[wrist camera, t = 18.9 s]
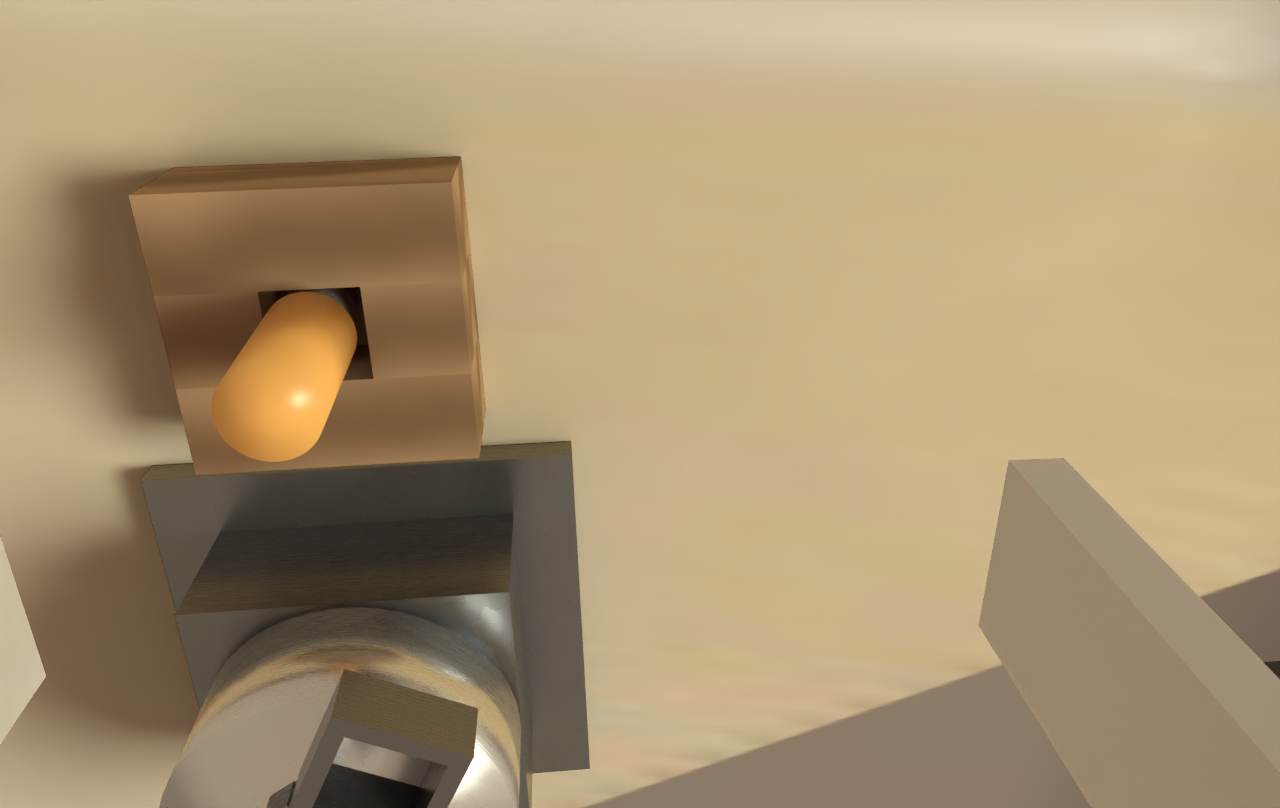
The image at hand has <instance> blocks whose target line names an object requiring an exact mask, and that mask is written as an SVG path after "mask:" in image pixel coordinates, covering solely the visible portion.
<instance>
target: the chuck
mask: <svg viewBox="0 0 1280 808" xmlns="http://www.w3.org/2000/svg"><path fill="white" fill-rule="evenodd" d="M520 753H521V723H520V714H519V710H518V706H517V702H516V699H515V697H514V695H513V692H512V690H511V688H510V686H509V684H508V682H507V681H506V679H505V678H504V676H503V675H502V673H501V671H500V670H499V669H498V668H497V667H496V666H495V664H494V663H493V662H492V661H491V660H490V659H489V657H487V656H486V655H485V654H484V653H483V652H482V651H481V650H479V649H478V648H477V647H476V646H475V645H474V644H472V643H471V642H469V641H468V640H466V639H465V638H463V637H462V636H460V635H459V634H457V633H455V632H453V631H451V630H449V629H447V628H446V627H444V626H442V625H440V624H437V623H434V622H432V621H429V620H426V619H424V618H421V617H418V616H414V615H410V614H406V613H403V612H399V611H392V610H385V609H378V608H359V607H352V608H336V609H328V610H322V611H316V612H311V613H307V614H304V615H300V616H297V617H293V618H290V619H288V620H285V621H283V622H281V623H278V624H276V625H274V626H271V627H270V628H268V629H266V630H264V631H263V632H261V633H259V634H257V635H256V636H254V637H253V638H251V639H250V640H249V641H248V642H246V643H245V644H244V645H242V646H241V647H240V648H239V649H238V650H237V651H236V652H235V653H234V654H233V655H232V656H231V657H230V658H229V659H228V660H227V661H226V662H225V664H224V665H223V667H222V668H221V669H220V671H219V672H218V674H217V675H216V677H215V679H214V681H213V683H212V685H211V688H210V690H209V692H208V694H207V696H206V699H205V701H204V703H203V705H202V707H201V710H200V712H199V714H198V716H197V719H196V721H195V723H194V725H193V728H192V730H191V732H190V734H189V736H188V739H187V741H186V743H185V745H184V748H183V750H182V752H181V754H180V756H179V759H178V761H177V763H176V765H175V768H174V770H173V772H172V774H171V777H170V779H169V781H168V783H167V785H166V788H165V790H164V792H163V796H162V800H161V803H160V807H159V808H519V786H520Z"/></svg>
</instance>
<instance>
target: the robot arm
mask: <svg viewBox="0 0 1280 808" xmlns="http://www.w3.org/2000/svg"><path fill="white" fill-rule="evenodd" d="M979 627H980V628H981V630H982V632H983V633H984V635H985V637H986V638H987V640H988V641H989V643H990V645H991V646H992V648H993V649H994V651H995V653H996V654H997V656H998V658H999V659H1000V661H1001V662H1002V664H1003V666H1004V667H1005V669H1006V670H1007V672H1008V674H1009V675H1010V677H1011V678H1012V680H1013V682H1014V683H1015V685H1016V687H1017V688H1018V690H1019V691H1020V693H1021V695H1022V696H1023V698H1024V699H1025V701H1026V703H1027V704H1028V706H1029V708H1030V709H1031V711H1032V712H1033V714H1034V716H1035V717H1036V719H1037V720H1038V722H1039V724H1040V725H1041V727H1042V729H1043V730H1044V731H1045V733H1046V735H1047V736H1048V738H1049V740H1050V741H1051V743H1052V745H1053V746H1054V748H1055V749H1056V751H1057V753H1058V754H1059V756H1060V758H1061V759H1062V761H1063V762H1064V764H1065V765H1066V767H1067V769H1068V770H1069V772H1070V774H1071V775H1072V777H1073V779H1074V780H1075V782H1076V783H1077V785H1078V787H1079V788H1080V790H1081V792H1082V793H1083V795H1084V796H1085V798H1086V799H1087V801H1088V803H1089V804H1090V806H1091V808H1280V661H1274V662H1262V661H1261V660H1260V659H1259V658H1258V656H1256V655H1255V653H1254V652H1253V651H1252V650H1251V649H1250V648H1249V647H1248V646H1247V645H1246V644H1245V643H1244V642H1243V641H1242V640H1241V639H1240V638H1239V637H1238V636H1237V635H1236V634H1235V633H1234V632H1233V631H1232V630H1231V629H1230V628H1229V627H1228V626H1227V625H1226V624H1225V623H1224V622H1223V621H1222V620H1221V619H1220V618H1219V617H1218V616H1217V615H1216V614H1215V612H1214V611H1213V610H1212V609H1210V607H1209V606H1208V605H1207V604H1206V603H1205V602H1204V601H1203V600H1202V599H1201V598H1200V597H1199V596H1198V595H1197V594H1196V593H1195V592H1194V591H1193V590H1192V589H1191V588H1190V587H1189V586H1188V585H1187V584H1186V583H1185V582H1184V581H1183V580H1182V579H1181V578H1180V577H1179V576H1178V575H1177V574H1176V573H1175V572H1174V571H1173V569H1172V568H1171V567H1170V566H1169V565H1168V564H1167V563H1166V562H1165V561H1164V560H1163V559H1162V558H1161V557H1160V556H1159V555H1158V554H1157V553H1156V552H1155V551H1154V550H1153V549H1152V548H1151V547H1150V546H1149V545H1148V544H1147V543H1146V542H1145V541H1144V540H1143V539H1142V538H1141V537H1140V536H1139V535H1138V534H1137V533H1136V532H1135V531H1134V530H1133V529H1132V528H1131V527H1130V525H1129V524H1128V523H1127V522H1126V521H1125V520H1124V519H1123V518H1122V517H1121V516H1120V515H1119V514H1118V513H1117V512H1116V511H1115V510H1114V509H1113V508H1112V507H1111V506H1110V505H1109V504H1108V503H1107V502H1106V501H1105V500H1104V499H1103V498H1102V497H1101V496H1100V495H1099V494H1098V493H1097V492H1096V491H1095V490H1094V489H1093V488H1092V487H1091V486H1090V485H1089V484H1088V483H1087V481H1086V480H1085V479H1084V478H1083V477H1082V476H1081V475H1080V474H1079V473H1078V472H1077V471H1076V470H1075V469H1074V468H1073V467H1072V466H1071V465H1070V464H1069V463H1068V462H1067V461H1066V460H1065V459H1064V458H1055V459H1031V460H1009V462H1008V468H1007V473H1006V479H1005V484H1004V489H1003V495H1002V500H1001V506H1000V511H999V517H998V522H997V528H996V533H995V539H994V544H993V550H992V555H991V561H990V566H989V572H988V577H987V583H986V588H985V594H984V599H983V605H982V610H981V616H980V621H979ZM45 677H46V674H45V671H44V668H43V665H42V662H41V659H40V655H39V652H38V649H37V646H36V643H35V640H34V637H33V634H32V631H31V628H30V625H29V622H28V619H27V616H26V613H25V610H24V607H23V604H22V601H21V598H20V595H19V592H18V589H17V586H16V583H15V580H14V577H13V573H12V570H11V567H10V564H9V561H8V558H7V555H6V552H5V549H4V546H3V543H2V540H1V537H0V744H1V743H2V741H3V740H4V738H5V737H6V735H7V734H8V732H9V731H10V729H11V728H12V726H13V725H14V723H15V722H16V720H17V719H18V717H19V716H20V714H21V713H22V711H23V710H24V708H25V707H26V705H27V704H28V702H29V701H30V700H31V698H32V697H33V695H34V694H35V692H36V691H37V689H38V688H39V686H40V685H41V683H42V682H43V680H44V679H45Z"/></svg>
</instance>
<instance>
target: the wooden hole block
mask: <svg viewBox="0 0 1280 808" xmlns="http://www.w3.org/2000/svg"><path fill="white" fill-rule="evenodd" d="M128 196H129V200H130V204H131V208H132V212H133V216H134V220H135V224H136V229H137V233H138V237H139V241H140V245H141V249H142V253H143V258H144V262H145V266H146V270H147V274H148V278H149V282H150V286H151V291H152V295H153V299H154V303H155V307H156V311H157V315H158V319H159V324H160V328H161V332H162V336H163V340H164V344H165V348H166V353H167V357H168V361H169V365H170V369H171V373H172V377H173V381H174V386H175V390H176V394H177V398H178V402H179V406H180V410H181V415H182V419H183V423H184V427H185V431H186V435H187V439H188V443H189V448H190V452H191V456H192V460H193V464H194V468H195V472H196V475H203V474H220V473H237V472H253V471H270V470H287V469H304V468H321V467H338V466H354V465H371V464H388V463H405V462H422V461H439V460H456V459H472V458H479V457H480V449H481V441H482V434H483V426H484V418H485V410H486V408H485V398H484V387H483V377H482V367H481V356H480V346H479V336H478V325H477V315H476V305H475V294H474V284H473V274H472V264H471V253H470V243H469V233H468V222H467V212H466V202H465V191H464V181H463V171H462V160H461V157H439V158H413V159H387V160H361V161H335V162H309V163H283V164H257V165H231V166H205V167H179V168H172V169H171V170H169V171H167V172H166V173H164V174H162V175H161V176H159V177H157V178H156V179H154V180H153V181H151V182H149V183H148V184H146V185H144V186H143V187H141V188H139V189H138V190H136V191H134V192H133V193H131V194H130V195H128ZM346 287H360V290H361V299H360V303H359V305H358V307H357V310H356V312H355V314H354V316H353V319H352V320H353V322H354V325H355V328H356V332H357V345H356V349H355V352H354V355H353V357H352V360H351V362H350V364H349V367H348V369H347V372H346V374H345V377H344V379H343V382H342V384H341V386H340V389H339V391H338V394H337V396H336V399H335V401H334V404H333V406H332V408H331V411H330V413H329V416H328V418H327V421H326V423H325V426H324V428H323V430H322V433H321V435H320V437H319V439H318V440H317V442H316V443H315V445H314V446H313V447H312V448H311V449H310V450H308V451H307V452H306V453H304V454H302V455H301V456H299V457H296V458H294V459H291V460H287V461H281V462H267V461H260V460H256V459H253V458H250V457H247V456H245V455H243V454H241V453H239V452H237V451H236V450H235V449H233V448H232V447H231V446H230V445H228V444H227V443H226V442H225V441H224V440H223V438H222V437H221V436H220V434H219V433H218V431H217V429H216V428H215V426H214V423H213V420H212V415H211V400H212V396H213V393H214V391H215V389H216V387H217V386H218V384H219V383H220V381H221V380H222V378H223V377H224V375H225V374H226V372H227V371H228V369H229V368H230V366H231V365H232V363H233V362H234V361H235V359H236V358H237V356H238V355H239V353H240V352H241V350H242V349H243V347H244V346H245V344H246V343H247V341H248V340H249V338H250V337H251V335H252V334H253V332H254V331H255V329H256V328H257V326H258V325H259V323H260V322H261V320H262V319H263V318H264V316H265V315H266V313H267V312H268V310H269V309H270V307H271V306H272V305H273V304H274V303H275V302H276V301H278V300H279V299H281V298H282V297H284V296H286V295H289V294H292V293H297V292H299V291H300V290H303V289H324V288H346Z"/></svg>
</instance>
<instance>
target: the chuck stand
mask: <svg viewBox="0 0 1280 808" xmlns="http://www.w3.org/2000/svg"><path fill="white" fill-rule="evenodd" d="M141 484H142V488H143V491H144V495H145V499H146V503H147V506H148V510H149V514H150V517H151V521H152V525H153V529H154V532H155V536H156V540H157V543H158V547H159V551H160V554H161V558H162V562H163V566H164V569H165V573H166V577H167V580H168V584H169V588H170V591H171V595H172V599H173V603H174V606H175V610H176V613H175V615H174V616H175V620H176V624H177V628H178V631H179V635H180V639H181V642H182V646H183V650H184V653H185V657H186V661H187V664H188V668H189V672H190V675H191V679H192V683H193V686H194V690H195V694H196V698H197V701H198V705H199V709H200V710H201V707H202V705H203V703H204V701H205V699H206V696H207V694H208V692H209V690H210V688H211V685H212V683H213V681H214V679H215V677H216V675H217V674H218V672H219V671H220V669H221V668H222V667H223V665H224V664H225V662H226V661H227V660H228V659H229V658H230V657H231V656H232V655H233V654H234V653H235V652H236V651H237V650H238V649H239V648H240V647H241V646H242V645H244V644H245V643H246V642H248V641H249V640H250V639H251V638H253V637H254V636H256V635H257V634H259V633H261V632H263V631H264V630H266V629H268V628H270V627H271V626H274V625H276V624H278V623H281V622H283V621H285V620H288V619H290V618H293V617H297V616H300V615H304V614H307V613H311V612H316V611H322V610H328V609H336V608H352V607H359V608H378V609H385V610H392V611H399V612H403V613H406V614H410V615H414V616H418V617H421V618H424V619H426V620H429V621H432V622H434V623H437V624H440V625H442V626H444V627H446V628H447V629H449V630H451V631H453V632H455V633H457V634H459V635H460V636H462V637H463V638H465V639H466V640H468V641H469V642H471V643H472V644H474V645H475V646H476V647H477V648H478V649H479V650H481V651H482V652H483V653H484V654H485V655H486V656H487V657H489V659H490V660H491V661H492V662H493V663H494V664H495V666H496V667H497V668H498V669H499V670H500V671H501V673H502V675H503V676H504V678H505V679H506V681H507V682H508V684H509V686H510V688H511V690H512V692H513V695H514V697H515V699H516V702H517V706H518V710H519V714H520V723H521V753H520V786H519V808H532V773H542V772H554V771H567V770H579V769H590V764H589V746H588V728H587V711H586V693H585V676H584V659H583V641H582V624H581V606H580V589H579V571H578V554H577V536H576V519H575V502H574V484H573V467H572V449H571V441H566V442H549V443H532V444H515V445H498V446H481V449H480V457H479V458H472V459H456V460H439V461H422V462H405V463H388V464H371V465H354V466H338V467H321V468H304V469H287V470H270V471H253V472H237V473H220V474H203V475H196V472H195V468H194V464H193V463H191V464H174V465H156V466H152V467H151V468H150V469H149V471H148V472H147V473H146V475H145V476H144V477H143V479H142V480H141Z"/></svg>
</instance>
